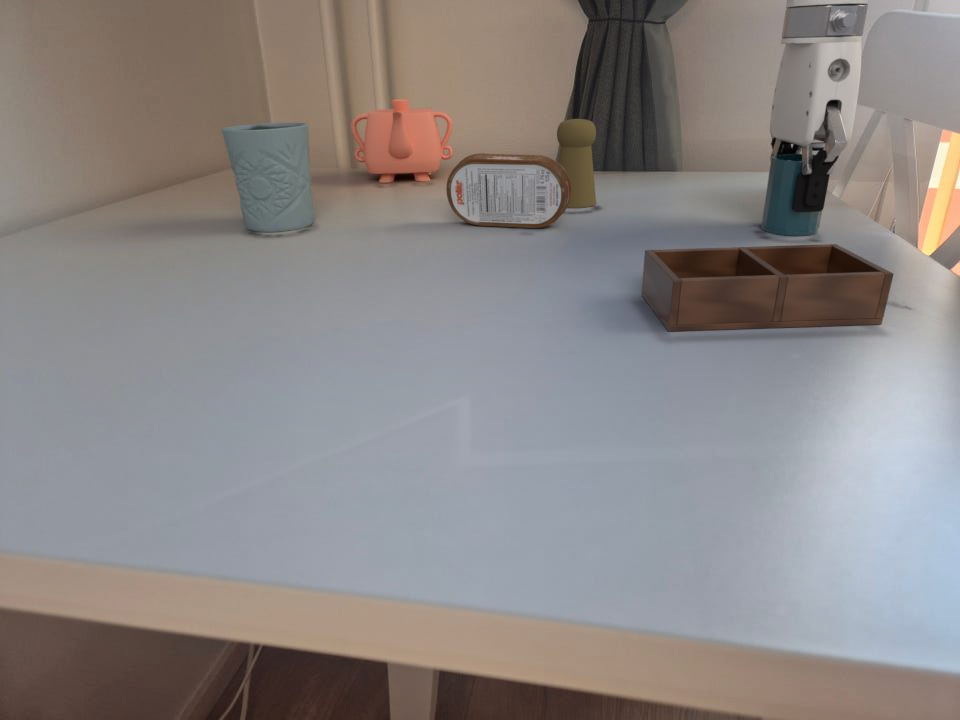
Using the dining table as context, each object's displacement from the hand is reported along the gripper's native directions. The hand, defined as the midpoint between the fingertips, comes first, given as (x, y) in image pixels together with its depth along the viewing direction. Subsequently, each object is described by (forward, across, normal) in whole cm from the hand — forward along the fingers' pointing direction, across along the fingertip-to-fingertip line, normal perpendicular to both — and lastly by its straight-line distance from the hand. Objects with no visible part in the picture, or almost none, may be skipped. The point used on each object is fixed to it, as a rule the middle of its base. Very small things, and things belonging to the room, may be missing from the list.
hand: (793, 203), depth 76 cm
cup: (+3, 0, 0) cm, 3 cm away
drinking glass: (+3, +11, +61) cm, 62 cm away
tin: (+3, +6, +32) cm, 33 cm away
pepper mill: (+3, +18, +22) cm, 29 cm away
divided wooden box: (+3, -25, +14) cm, 29 cm away
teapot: (+3, +43, +47) cm, 64 cm away
